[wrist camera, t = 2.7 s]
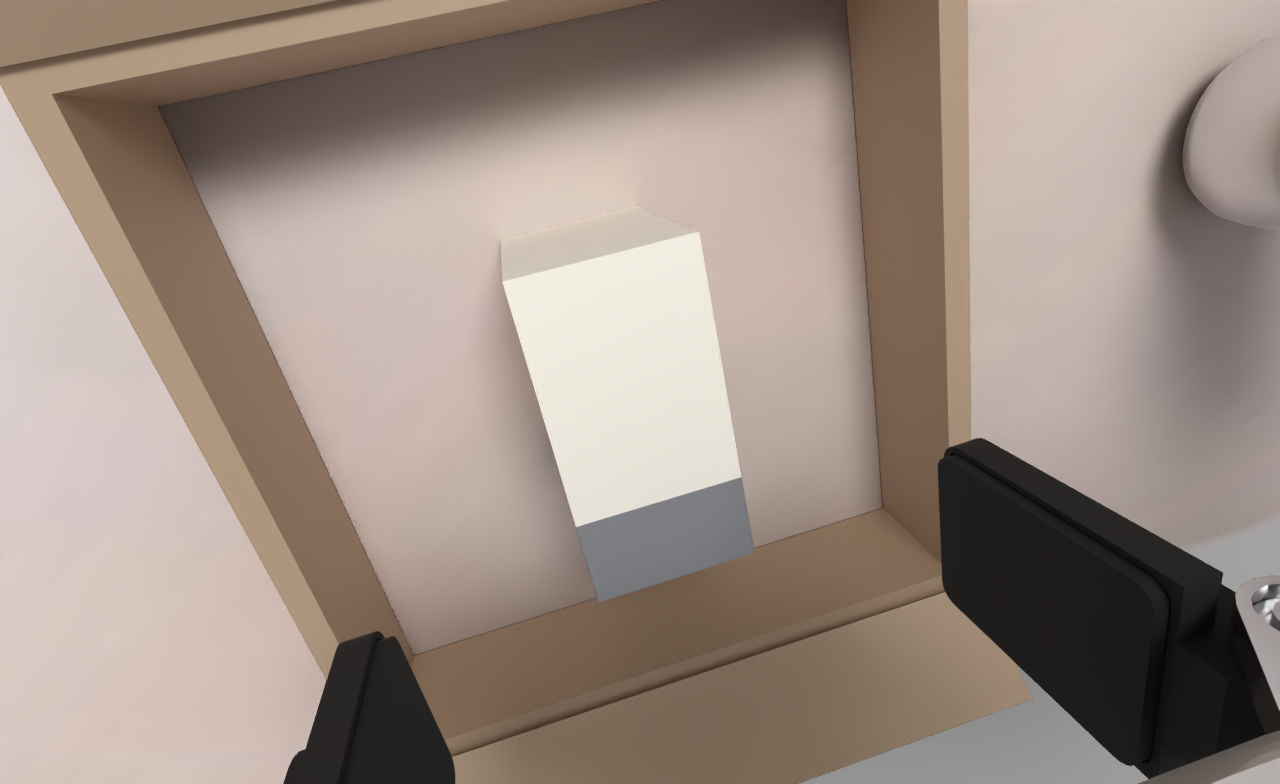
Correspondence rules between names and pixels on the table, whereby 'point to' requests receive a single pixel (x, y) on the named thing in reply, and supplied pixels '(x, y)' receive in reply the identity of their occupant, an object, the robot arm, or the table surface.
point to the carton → (596, 631)
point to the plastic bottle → (1239, 140)
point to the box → (631, 393)
